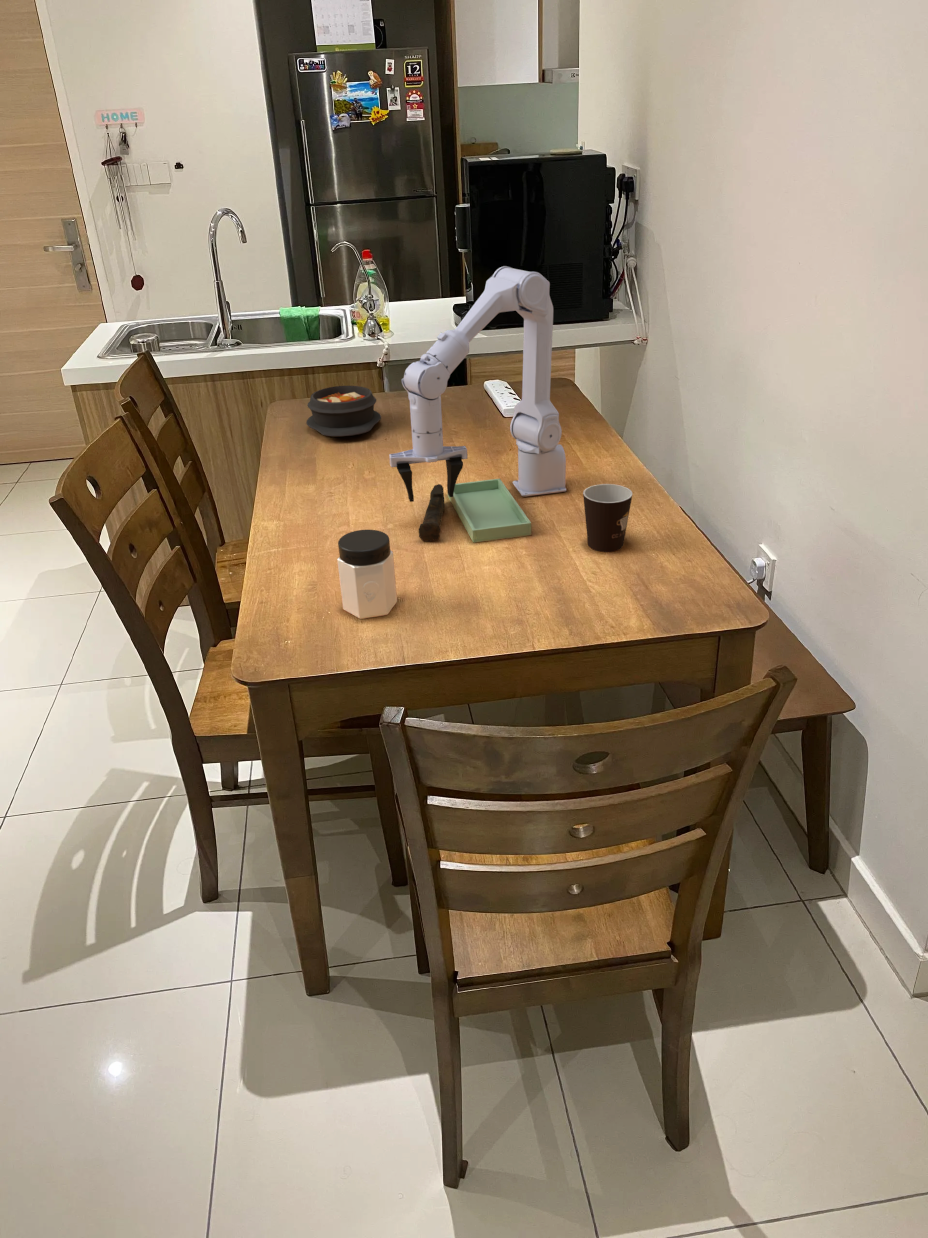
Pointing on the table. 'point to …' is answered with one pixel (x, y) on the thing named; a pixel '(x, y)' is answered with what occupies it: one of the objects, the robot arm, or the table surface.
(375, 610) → the jar
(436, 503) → the hand tool
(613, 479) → the table surface
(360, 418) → the casserole
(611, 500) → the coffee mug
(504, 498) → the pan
